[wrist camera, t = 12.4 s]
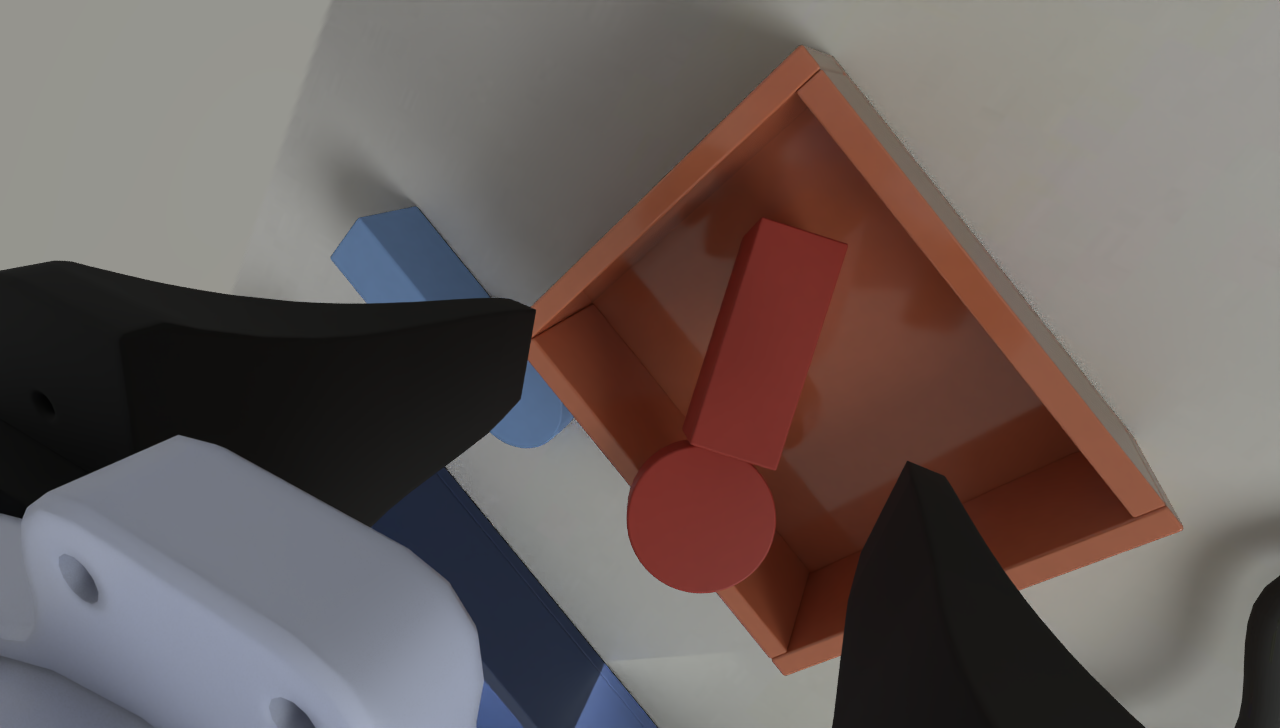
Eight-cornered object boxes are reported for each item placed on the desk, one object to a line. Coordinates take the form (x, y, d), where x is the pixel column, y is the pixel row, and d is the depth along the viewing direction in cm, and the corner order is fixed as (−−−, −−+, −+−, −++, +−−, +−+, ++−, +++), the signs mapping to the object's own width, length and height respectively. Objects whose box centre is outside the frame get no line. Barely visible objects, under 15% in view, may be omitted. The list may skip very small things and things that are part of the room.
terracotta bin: (576, 293, 21) (503, 332, 17) (832, 55, 16) (800, 42, 12) (810, 583, 21) (783, 677, 18) (1135, 438, 16) (1186, 530, 13)
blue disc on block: (377, 256, 24) (317, 273, 21) (429, 188, 22) (369, 198, 19) (534, 450, 24) (492, 487, 22) (599, 399, 22) (560, 434, 20)
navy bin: (258, 496, 32) (174, 545, 28) (368, 372, 26) (279, 415, 22) (594, 904, 32) (552, 1000, 29) (777, 872, 26) (751, 989, 23)
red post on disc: (713, 226, 17) (726, 204, 14) (847, 268, 17) (884, 254, 14) (609, 553, 17) (604, 589, 15) (742, 594, 17) (761, 638, 15)
